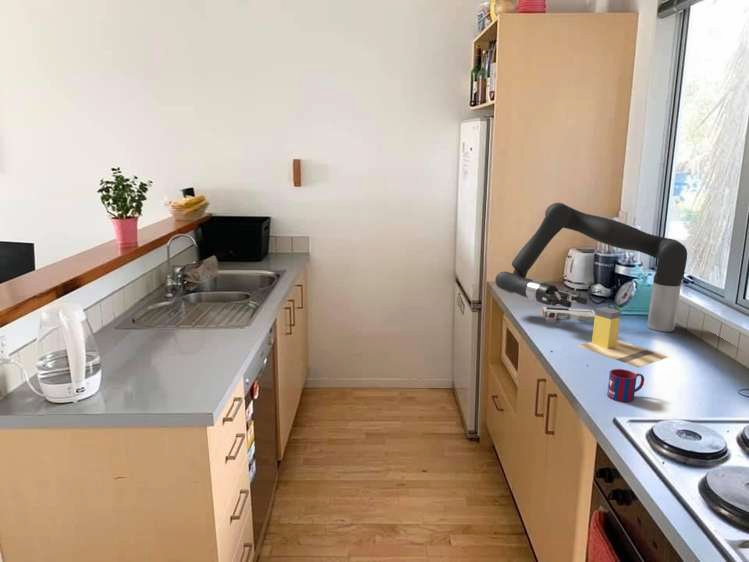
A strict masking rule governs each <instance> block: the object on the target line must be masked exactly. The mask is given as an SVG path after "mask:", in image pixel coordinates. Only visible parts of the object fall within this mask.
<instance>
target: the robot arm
mask: <svg viewBox="0 0 749 562" xmlns="http://www.w3.org/2000/svg"><path fill="white" fill-rule="evenodd" d="M544 213H545V215H544V218H543V220H542V222H541V224H540V226H539V227H538V228H537V230H536V232H535V233H534V234H533V235H532V236H531V238H530V239H529V240H527V242H526V243H525V244H524V246H523V247H522V248H521V249H520V250H519V252H518V253H517V254H516V256H515V257H514V259H513V261H512V262H511V266H512V267H513V272H509V271H501V272H499V273H498V274H496V277H495V285H496V286H497V288H499V289H501V290H503V291H505V292H507V293H509V294H514V293H515V294H518V295H519V296H521V297H525V298H527V299H530V300H531V301H535V302H538V303H541V304H545V305H546V306H554V307H556V306H559V307H560V306H562V307H564V308H572V303H577V304H582V305H587V304H588V299H587V298H586V297H583V296H581V293H578V292H573V291H569V290H565V291H563V290H559V289H558V287H557V286H556V285H555V284H552V283H548V282H545V281H540V280H535V279H531V278H529V277H528V278H527V275H528V272H529V271H530V270H531V268H532V267H533V265H534V264H535V263H536V261H537V260H538V259H539V257H540V256H541V254H542V252H543V251H544V250H545V249H546V248H547V245H548V244H549V243H550V242H551V241H552V240H553V239H554V238H555V237H556V235H557V234H558V233H559V232H560V231H561V230H562V229H567V230H570V231H574V232H577V233H580V234H582V235H585V236H586V237H588V238H590V239H591V240H594V241H596V242H599V243H602V244H604V245H607V246H610V247H614V248H616V249H622V250H627V251H634V252H639V253H642V254H646V256H647V255H648V256H650V257H652V258H654V259H656V260H658V261H657V266H656V272H655V274H654V275H653V279H652V280H653V281H652V288H651V296H650V303H649V308H648V309H649V310H648V318H647V323H646V326H647V328H648V329H650V330H653V331H656V332H657V331H659V332H673V331H675V328H676V323H677V316H678V309H679V299H680V296H681V295H680V293H681V286H682V282H683V279H684V277H685V272H686V266H687V260H688V250H687V248H686V246H685V245H684V244H682V243H681V242H680V241H678V240H676V239H673V238H669V237H664V236H658V235H654V234H651V233H647V232H645V231H643V230H641V229H638V228H636V227H634V226H631V225H629V224H625V223H623V222H620V221H618V220H614V219H611V218H607V217H603V216H599V215H592V214H588V213H585V212H582V211H580V210H577V209H575V208H572V207H570V206H568V205H566V204H564V203H562V202H554V203H552V204H549V206H548V207H547V208H546V210H545V211H544Z"/></svg>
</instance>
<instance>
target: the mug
mask: <svg viewBox="0 0 749 562" xmlns="http://www.w3.org/2000/svg"><path fill="white" fill-rule="evenodd" d="M637 377H640V383H639V385H638V386H637V387H636V385H637ZM644 383H645V376H644V375H643V374H641V373H635V372H633V371H632V370H628V369H622V368H614V369H611V370H609V377H608V386H607V393H606V395H607V397H608V398H609V399H611V400H613V401H616V402H620V403H630V402H633V401H634V399H635V393H637V392H638V391H640V390H641V389H642V388H643V387H644V385H645V384H644Z"/></svg>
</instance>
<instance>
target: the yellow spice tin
mask: <svg viewBox="0 0 749 562" xmlns="http://www.w3.org/2000/svg"><path fill="white" fill-rule="evenodd" d="M594 312H595V319H594V321H593V322H594V323H593V329H592V339H591V342H592V344H595V345H598V346H601V347H604V348H607V349H608V348H611V347H614V346H616V345H617V340H618V335H619V327H620V319H621V314H622V311H620V310H617V309H614V308H610V307H606V306H603V307H599V308H595V310H594Z"/></svg>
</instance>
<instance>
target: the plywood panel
mask: <svg viewBox="0 0 749 562" xmlns="http://www.w3.org/2000/svg"><path fill="white" fill-rule="evenodd" d="M577 347H579V348H581V349H584V350H587V351H590V352H594V353H596V354H598V355H602V356H604V357H608V358H610V359H612V360H616V361H619V362H622V363H624V364H627V365H630V366H632V367H636V368H641V367H643V366H646V365H649V364H652V363H656V362H658V361H661V360H663V359H667V358H669V356H668V355H665V354H661V353H658V352H655V351H652V350H649V349H645V348H643V347H640V346H636V345H634V344H631V343H629V342H625V341H621V340H618V339H617V345H616V346H614V347H611V348H608V349H607V348H604V347H601V346H598V345H595V344H592V341H588V342H586V343H582V344H578V345H577Z"/></svg>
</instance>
